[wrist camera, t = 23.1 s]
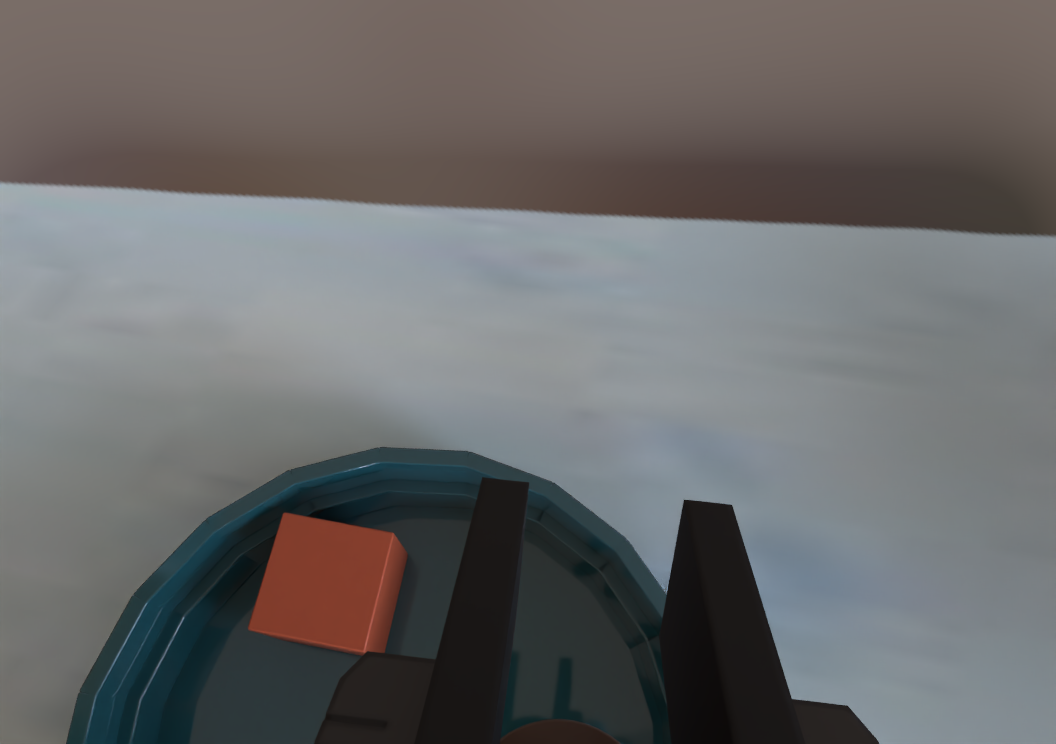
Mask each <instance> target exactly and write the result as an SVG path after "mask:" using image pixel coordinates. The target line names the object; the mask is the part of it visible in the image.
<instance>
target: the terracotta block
mask: <svg viewBox="0 0 1056 744" xmlns="http://www.w3.org/2000/svg"><path fill="white" fill-rule="evenodd" d="M407 557H408V553H407V552H406V550H405V549H404V547H403V546H402V544H401V543H400V541H399V540H398V539H397V537H396V536H395V534H394V533H393V532H387V531H382V530H377V529H371V528H366V527H361V526H355V525H350V524H345V523H339V522H334V521H329V520H323V519H318V518H313V517H307V516H302V515H297V514H291V513H286V512H285V513H283V515H282V518H281V521H280V524H279V528H278V531H277V534H276V537H275V541H274V544H273V547H272V551H271V554H270V557H269V560H268V564H267V567H266V570H265V573H264V577H263V580H262V583H261V586H260V590H259V593H258V596H257V600H256V603H255V606H254V609H253V613H252V616H251V619H250V622H249V626H248V630H250V631H254V632H257V633H260V634H263V635H267V636H270V637H273V638H277V639H280V640H285V641H290V642H295V643H300V644H305V645H310V646H315V647H320V648H325V649H330V650H335V651H340V652H345V653H350V654H356V655H361V656H363V655H364V654H365V653H366V652H367V651H370V652H378V653H385V649H386V645H387V641H388V636H389V632H390V628H391V624H392V620H393V615H394V611H395V607H396V603H397V599H398V595H399V590H400V586H401V582H402V578H403V574H404V569H405V565H406V561H407Z"/></svg>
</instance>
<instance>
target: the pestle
mask: <svg viewBox="0 0 1056 744" xmlns="http://www.w3.org/2000/svg"><path fill="white" fill-rule="evenodd" d="M500 744H621V743H620V742H618V741H617V740H616V739H614V738H613V737H612V736H610V735H609V734H607V733H605V732H604V731H602V730H600V729H598V728H596V727H593V726H591V725H588V724H586V723H582V722H578V721H574V720H566V719H547V720H541V721H536V722H532V723H529V724H526V725H523V726H521V727H519V728H517V729H515V730H513V731H511V732H509V733H508V734H506V735H505V736H503V737H502V738H500Z"/></svg>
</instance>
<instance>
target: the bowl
mask: <svg viewBox="0 0 1056 744" xmlns="http://www.w3.org/2000/svg"><path fill="white" fill-rule="evenodd" d="M482 477H484V478H494V479H503V480H512V481H521V482H529V491H528V501H527V512H526V522H525V532H524V543H523V553H522V563H521V574H520V584H519V594H518V605H517V615H516V624H515V632H514V639H513V647H512V654H511V662H510V669H509V677H508V685H507V692H506V700H505V707H504V715H503V722H502V730H501V737H500V738H502V737H503V736H505V735H506V734H508V733H509V732H511V731H513V730H515V729H517V728H519V727H521V726H523V725H526V724H529V723H532V722H536V721H541V720H547V719H566V720H574V721H578V722H582V723H586V724H588V725H591V726H593V727H596V728H598V729H600V730H602V731H604V732H605V733H607V734H609V735H610V736H612V737H613V738H614V739H616V740H617V741H618V742H620V743H621V744H671V736H670V728H669V719H668V710H667V701H666V693H665V684H664V675H663V666H662V658H661V649H660V640H659V635H660V629H661V624H662V618H663V613H664V607H665V602H666V596H667V595H666V593H665V592H664V590H663V589H662V588H661V586H660V585H659V583H658V582H657V581H656V579H655V578H654V576H653V575H652V573H651V572H650V571H649V569H648V568H647V566H646V565H645V564H644V562H643V561H642V559H641V558H640V556H639V555H638V554H637V552H636V551H635V549H634V548H633V547H632V545H631V544H630V542H629V541H628V540H627V539H626V538H625V537H624V536H623V535H621V534H620V533H619V532H617V531H616V530H615V529H614V528H612V527H611V526H610V525H608V524H607V523H606V522H604V521H603V520H602V519H601V518H599V517H598V516H597V515H595V514H594V513H593V512H592V511H590V510H589V509H588V508H586V507H585V506H584V505H582V504H581V503H580V502H579V501H577V500H576V499H575V498H573V497H572V496H571V495H570V494H568V493H567V492H566V491H564V490H563V489H562V488H560V487H559V486H558V485H557V484H555V483H553V482H551V481H549V480H546V479H543V478H540V477H538V476H535V475H532V474H530V473H527V472H524V471H521V470H519V469H516V468H513V467H511V466H508V465H505V464H502V463H500V462H497V461H494V460H491V459H489V458H486V457H483V456H481V455H478V454H475V453H472V452H468V451H454V450H433V449H412V448H391V447H380V448H374V449H370V450H366V451H362V452H358V453H354V454H350V455H346V456H342V457H338V458H334V459H330V460H326V461H322V462H319V463H315V464H311V465H307V466H303V467H299V468H295V469H291V470H288V471H286V472H285V473H283V474H281V475H280V476H278V477H276V478H275V479H273V480H271V481H269V482H268V483H266V484H264V485H263V486H261V487H259V488H258V489H256V490H254V491H252V492H251V493H249V494H247V495H246V496H244V497H242V498H241V499H239V500H237V501H235V502H234V503H232V504H230V505H229V506H227V507H225V508H224V509H222V510H220V511H218V512H217V513H215V514H213V515H212V516H210V517H208V518H207V519H206V520H205V521H203V522H202V524H201V525H200V526H199V527H198V528H197V529H196V530H195V531H194V532H193V533H192V534H191V535H190V536H189V537H188V538H187V539H186V540H185V541H184V542H183V543H182V544H181V545H180V546H179V547H178V548H177V549H176V550H175V551H174V552H173V553H172V554H171V556H170V557H169V558H168V559H167V560H166V561H165V562H164V563H163V564H162V565H161V566H160V567H159V568H158V569H157V570H156V571H155V572H154V573H153V574H152V575H151V576H150V577H149V578H148V579H147V580H146V581H145V582H144V583H143V584H142V585H141V587H140V588H139V589H138V590H137V591H136V592H135V593H134V595H133V596H132V597H131V599H130V600H129V602H128V604H127V606H126V608H125V609H124V611H123V613H122V615H121V617H120V619H119V620H118V622H117V624H116V626H115V628H114V629H113V631H112V633H111V635H110V637H109V638H108V640H107V642H106V644H105V646H104V647H103V649H102V651H101V653H100V655H99V656H98V658H97V660H96V662H95V664H94V665H93V667H92V669H91V671H90V673H89V674H88V676H87V678H86V680H85V682H84V683H83V685H82V687H81V689H80V693H79V694H78V697H77V701H76V705H75V709H74V713H73V717H72V721H71V725H70V729H69V734H68V738H67V742H66V744H314V742H315V739H316V737H317V734H318V732H319V729H320V727H321V724H322V722H323V720H325V716H326V712H327V709H328V707H329V704H330V702H331V699H332V697H333V694H334V692H335V689H336V687H337V684H338V682H339V679H340V678H341V677H342V676H343V675H344V674H345V673H346V672H347V671H348V670H349V669H350V668H351V667H352V666H353V665H354V664H355V663H356V662H357V661H358V660H359V659H360V658H361V657H362V656H361V655H356V654H350V653H345V652H340V651H335V650H330V649H325V648H320V647H315V646H310V645H305V644H300V643H295V642H290V641H285V640H280V639H277V638H273V637H270V636H267V635H263V634H260V633H257V632H254V631H250V630H248V626H249V622H250V619H251V616H252V613H253V609H254V606H255V603H256V600H257V596H258V593H259V590H260V586H261V583H262V580H263V577H264V573H265V570H266V567H267V564H268V560H269V557H270V554H271V551H272V547H273V544H274V541H275V537H276V534H277V531H278V528H279V524H280V521H281V518H282V515H283V513H285V512H286V513H291V514H297V515H302V516H307V517H313V518H318V519H323V520H329V521H334V522H339V523H345V524H350V525H355V526H361V527H366V528H371V529H377V530H382V531H387V532H393V533H394V534H395V536H396V537H397V539H398V540H399V541H400V543H401V544H402V546H403V547H404V549H405V550H406V552H407V553H408V557H407V561H406V565H405V569H404V574H403V578H402V582H401V586H400V590H399V595H398V599H397V603H396V607H395V611H394V615H393V620H392V624H391V628H390V632H389V636H388V641H387V645H386V649H385V653H387V654H395V655H404V656H412V657H420V658H429V659H436V657H437V653H438V649H439V645H440V641H441V637H442V633H443V629H444V625H445V622H446V618H447V614H448V610H449V606H450V602H451V598H452V594H453V590H454V586H455V582H456V578H457V575H458V571H459V567H460V563H461V559H462V555H463V551H464V547H465V543H466V539H467V535H468V531H469V527H470V524H471V520H472V516H473V512H474V508H475V504H476V500H477V496H478V492H479V488H480V484H481V480H482Z"/></svg>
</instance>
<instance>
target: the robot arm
mask: <svg viewBox="0 0 1056 744" xmlns="http://www.w3.org/2000/svg"><path fill="white" fill-rule="evenodd" d="M528 491H529V482H521V481H512V480H503V479H494V478H484V477H482V480H481V484H480V488H479V492H478V496H477V500H476V504H475V508H474V512H473V516H472V520H471V524H470V527H469V531H468V535H467V539H466V543H465V547H464V551H463V555H462V559H461V563H460V567H459V571H458V575H457V578H456V582H455V586H454V590H453V594H452V598H451V602H450V606H449V610H448V614H447V618H446V622H445V625H444V629H443V633H442V637H441V641H440V645H439V649H438V653H437V657H436V659H429V658H420V657H412V656H404V655H395V654H387V653H378V652H370V651H367V652H366V653H365V654H364V655H363V656H362V657H361V658H360V659H359V660H358V661H357V662H356V663H355V664H354V665H353V666H352V667H351V668H350V669H349V670H348V671H347V672H346V673H345V674H344V675H343V676H342V677H341V678H340V679H339V682H338V684H337V687H336V689H335V692H334V694H333V697H332V699H331V702H330V704H329V707H328V709H327V712H326V716H325V720H323V722H322V724H321V727H320V729H319V732H318V734H317V737H316V739H315V742H314V744H500V737H501V730H502V722H503V715H504V707H505V700H506V692H507V685H508V677H509V669H510V662H511V654H512V647H513V639H514V632H515V624H516V615H517V605H518V594H519V584H520V574H521V563H522V553H523V543H524V532H525V522H526V512H527V501H528ZM659 640H660V649H661V658H662V666H663V675H664V684H665V693H666V701H667V710H668V719H669V728H670V736H671V744H879V742H878V740H877V739H876V738H875V737H874V736H873V735H872V733H871V732H870V731H869V730H868V729H867V728H866V726H865V725H864V724H863V723H862V722H861V721H860V720H859V718H858V717H857V716H856V715H855V714H854V713H853V711H852V710H851V709H850V708H849V707H848V706H845V705H836V704H828V703H820V702H811V701H803V700H795V699H792V698H791V695H790V692H789V689H788V685H787V682H786V679H785V676H784V672H783V669H782V666H781V663H780V659H779V656H778V653H777V650H776V646H775V643H774V640H773V637H772V633H771V630H770V627H769V624H768V620H767V617H766V614H765V611H764V607H763V604H762V601H761V598H760V594H759V591H758V588H757V585H756V581H755V578H754V575H753V572H752V568H751V565H750V562H749V559H748V555H747V552H746V549H745V546H744V542H743V539H742V536H741V533H740V529H739V526H738V523H737V520H736V516H735V513H734V510H733V507H732V505H729V504H720V503H711V502H702V501H693V500H684V503H683V508H682V514H681V519H680V525H679V530H678V536H677V541H676V547H675V552H674V558H673V563H672V569H671V574H670V580H669V585H668V591H667V596H666V602H665V607H664V613H663V618H662V624H661V629H660V635H659Z"/></svg>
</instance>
